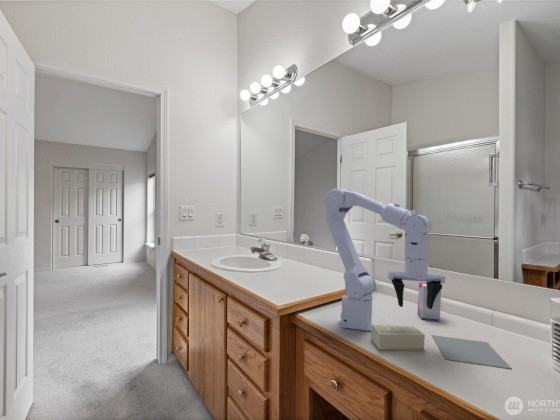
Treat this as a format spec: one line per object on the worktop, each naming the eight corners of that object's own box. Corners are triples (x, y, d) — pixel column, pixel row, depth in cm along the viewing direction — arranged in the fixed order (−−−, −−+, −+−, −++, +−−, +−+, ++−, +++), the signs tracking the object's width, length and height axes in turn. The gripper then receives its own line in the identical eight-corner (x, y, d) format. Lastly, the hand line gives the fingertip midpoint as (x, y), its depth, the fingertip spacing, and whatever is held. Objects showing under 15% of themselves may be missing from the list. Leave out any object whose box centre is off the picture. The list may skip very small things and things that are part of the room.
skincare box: (413, 340, 82) (370, 340, 82) (413, 324, 82) (371, 324, 82) (425, 351, 76) (379, 351, 75) (425, 334, 76) (379, 334, 75)
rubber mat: (445, 359, 72) (445, 358, 72) (431, 335, 85) (431, 335, 85) (512, 369, 68) (512, 368, 68) (486, 342, 82) (486, 342, 82)
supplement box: (440, 321, 97) (441, 287, 96) (421, 319, 98) (422, 285, 98) (435, 315, 102) (436, 282, 102) (417, 313, 103) (418, 281, 103)
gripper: (392, 259, 78) (391, 309, 78) (450, 262, 76) (448, 314, 76) (387, 254, 85) (385, 301, 85) (440, 257, 83) (438, 305, 83)
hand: (414, 306), depth 81 cm, fingers open, 7 cm apart
